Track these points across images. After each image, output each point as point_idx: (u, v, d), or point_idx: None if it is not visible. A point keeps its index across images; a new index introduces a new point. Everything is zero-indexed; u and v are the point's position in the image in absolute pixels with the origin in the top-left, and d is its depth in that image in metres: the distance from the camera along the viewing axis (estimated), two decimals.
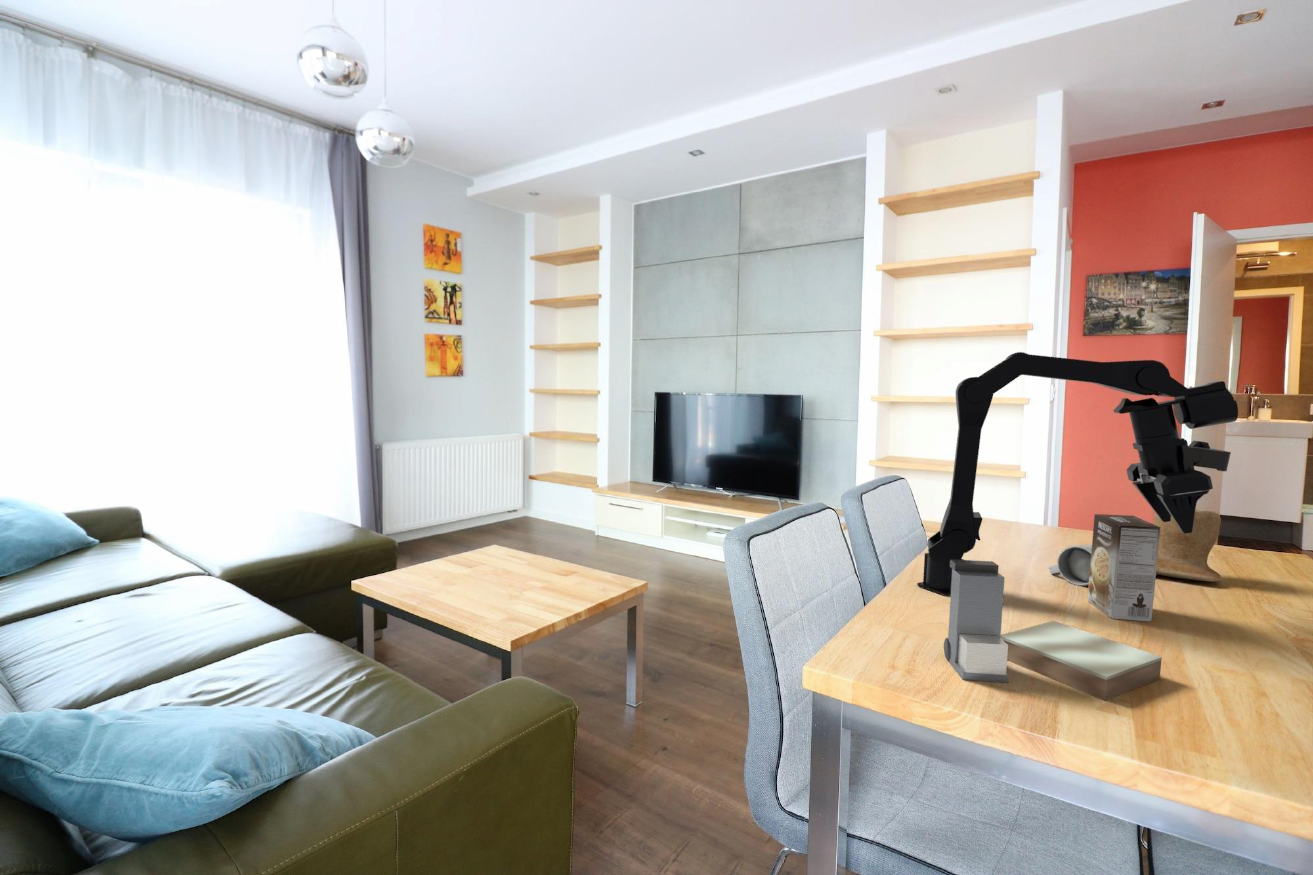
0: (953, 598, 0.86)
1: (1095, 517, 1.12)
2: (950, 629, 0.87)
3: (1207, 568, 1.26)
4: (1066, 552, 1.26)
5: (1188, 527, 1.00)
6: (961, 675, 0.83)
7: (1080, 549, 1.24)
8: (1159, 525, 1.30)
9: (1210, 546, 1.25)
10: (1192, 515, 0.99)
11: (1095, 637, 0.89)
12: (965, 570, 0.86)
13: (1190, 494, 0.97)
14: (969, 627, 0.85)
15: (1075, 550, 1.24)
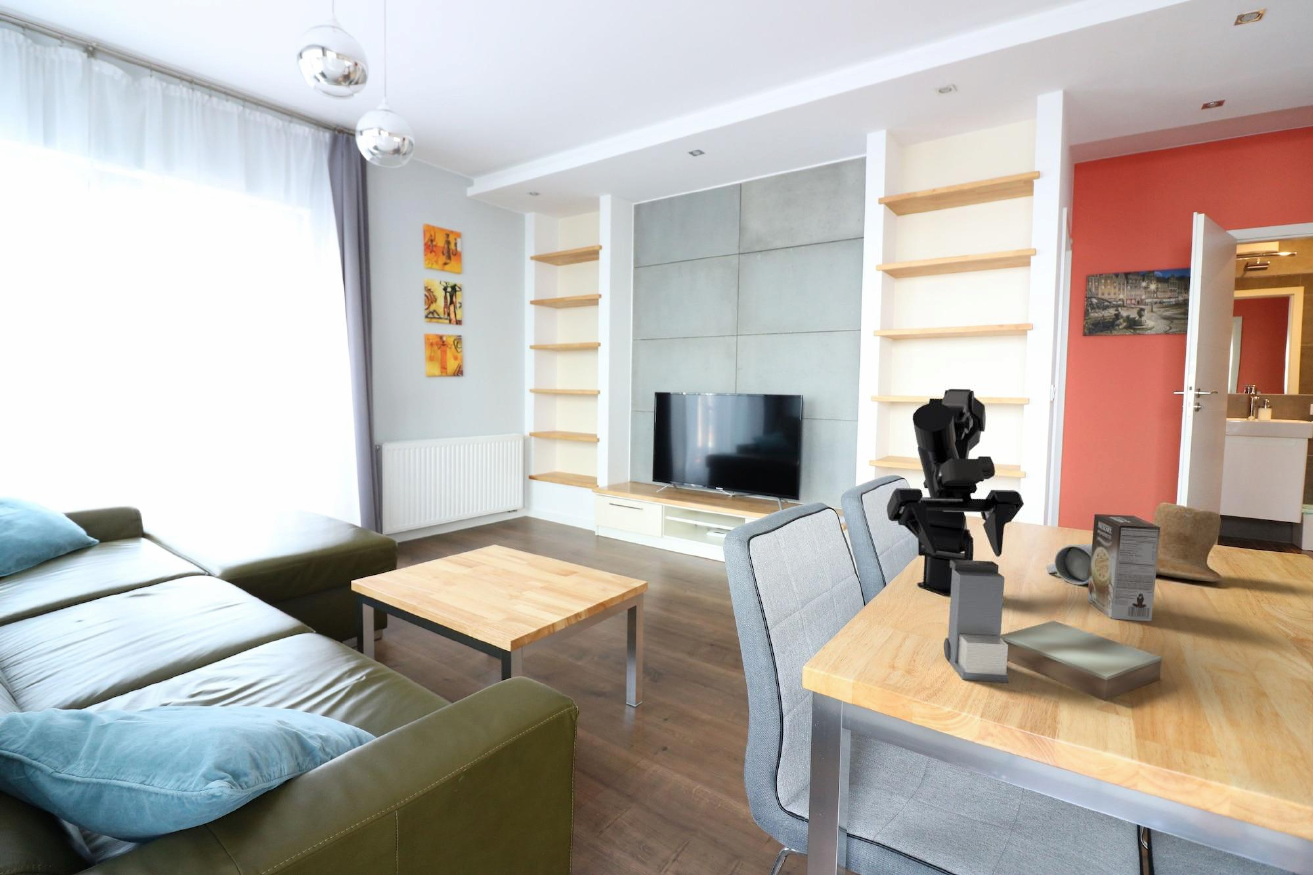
0: (953, 598, 0.86)
1: (1095, 517, 1.12)
2: (950, 629, 0.87)
3: (1207, 568, 1.26)
4: (1063, 551, 1.26)
5: (929, 546, 0.94)
6: (961, 675, 0.83)
7: (1077, 548, 1.24)
8: (1159, 525, 1.30)
9: (1210, 546, 1.25)
10: (924, 533, 0.94)
11: (1095, 637, 0.89)
12: (965, 570, 0.86)
13: (902, 512, 0.97)
14: (969, 627, 0.85)
15: (1072, 549, 1.25)
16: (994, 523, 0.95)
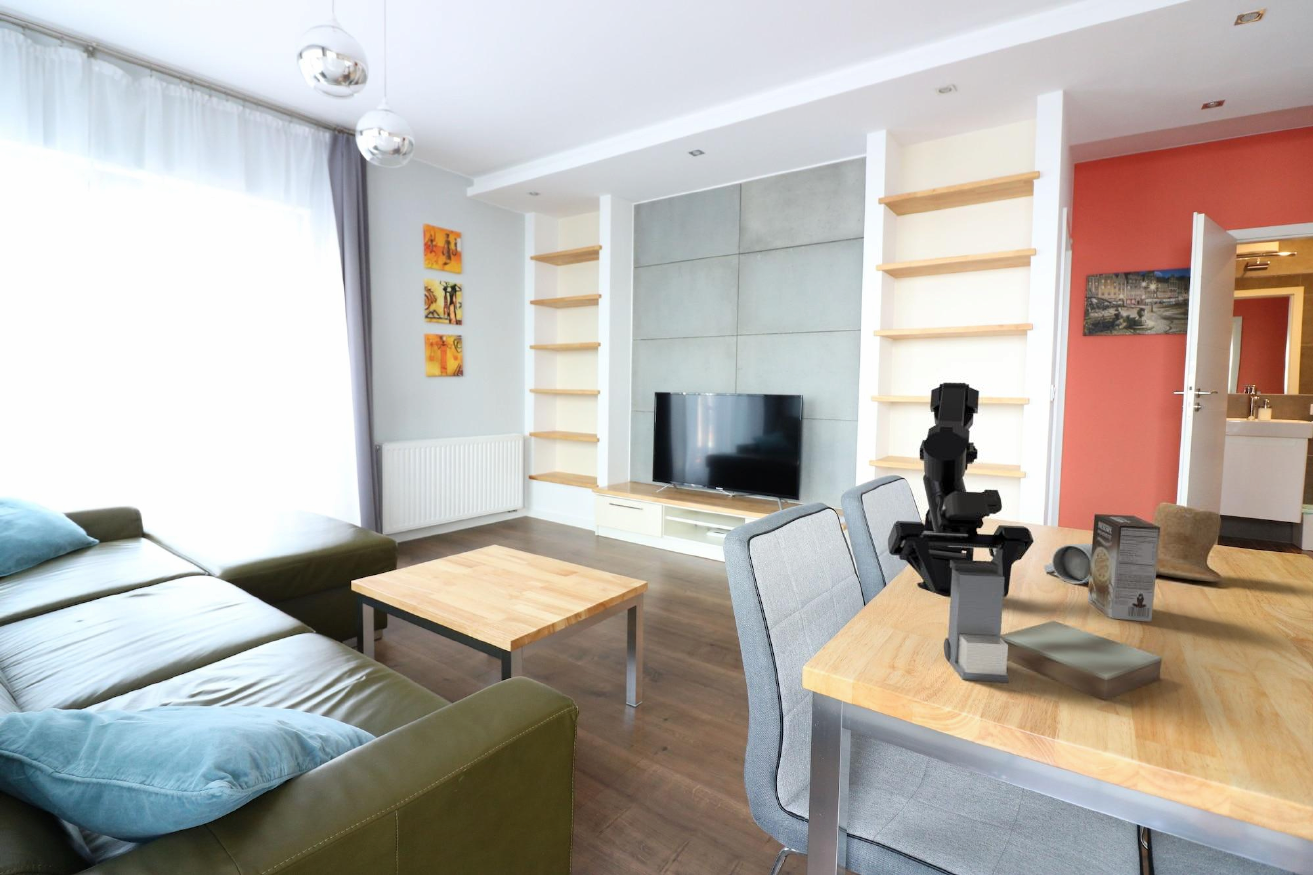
0: (953, 598, 0.86)
1: (1095, 517, 1.12)
2: (950, 629, 0.87)
3: (1207, 568, 1.26)
4: (1061, 551, 1.27)
5: (930, 584, 0.89)
6: (961, 675, 0.83)
7: (1075, 548, 1.25)
8: (1159, 525, 1.30)
9: (1210, 546, 1.25)
10: (925, 569, 0.89)
11: (1095, 637, 0.89)
12: (965, 570, 0.86)
13: (903, 546, 0.92)
14: (969, 627, 0.85)
15: (1070, 549, 1.25)
16: (1001, 561, 0.89)
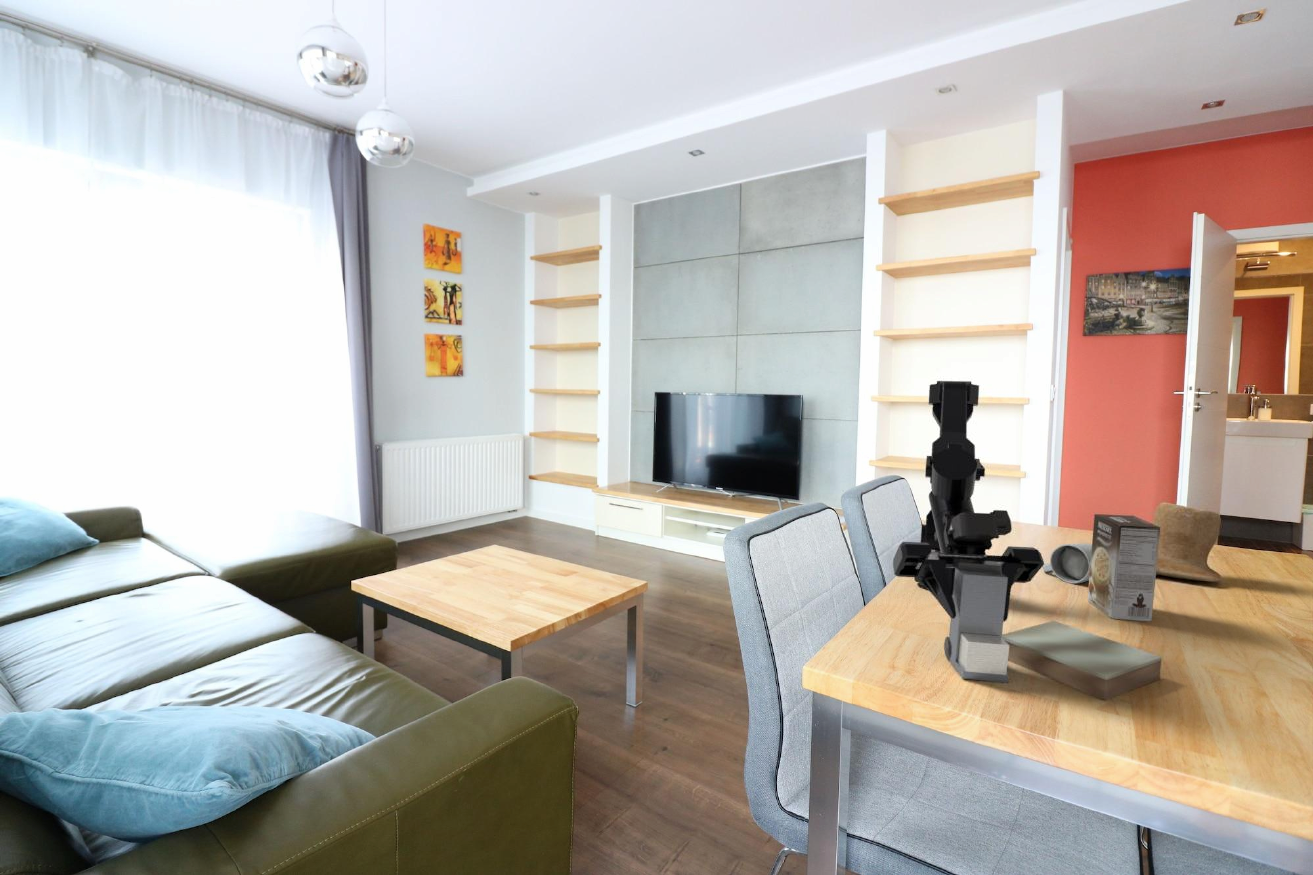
0: (955, 597, 0.86)
1: (1095, 517, 1.12)
2: (951, 627, 0.87)
3: (1207, 568, 1.26)
4: (1059, 550, 1.27)
5: (948, 609, 0.85)
6: (961, 674, 0.83)
7: (1072, 547, 1.25)
8: (1159, 525, 1.30)
9: (1210, 546, 1.25)
10: (943, 593, 0.86)
11: (1095, 637, 0.89)
12: (968, 569, 0.86)
13: (919, 569, 0.89)
14: (970, 626, 0.85)
15: (1067, 548, 1.26)
16: None
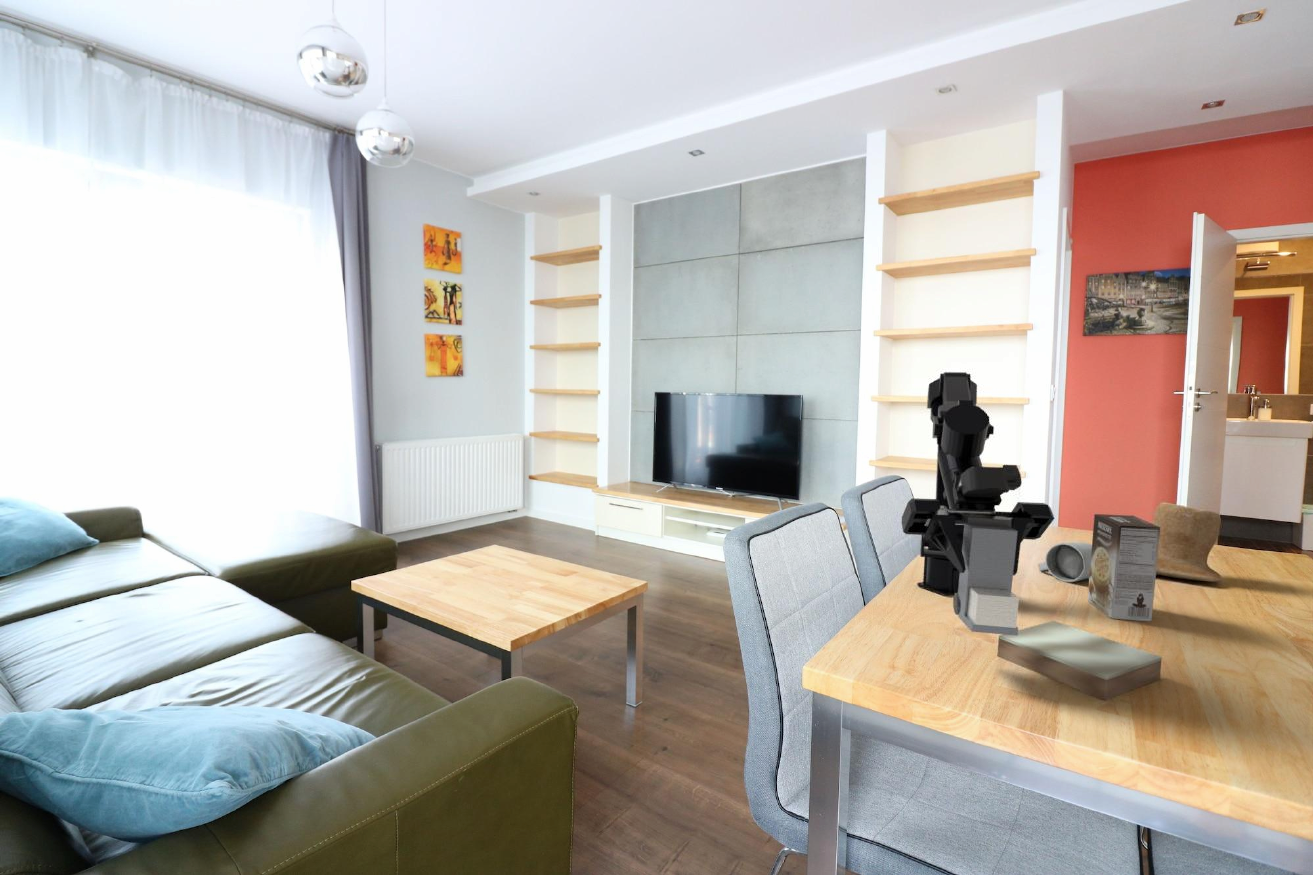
0: (964, 552, 0.86)
1: (1095, 517, 1.12)
2: (960, 583, 0.87)
3: (1207, 568, 1.26)
4: (1054, 549, 1.28)
5: (957, 563, 0.85)
6: (970, 627, 0.82)
7: (1068, 546, 1.26)
8: (1159, 525, 1.30)
9: (1210, 546, 1.25)
10: (952, 548, 0.86)
11: (1095, 637, 0.89)
12: (978, 524, 0.85)
13: (928, 525, 0.89)
14: (980, 581, 0.84)
15: (1063, 547, 1.26)
16: None
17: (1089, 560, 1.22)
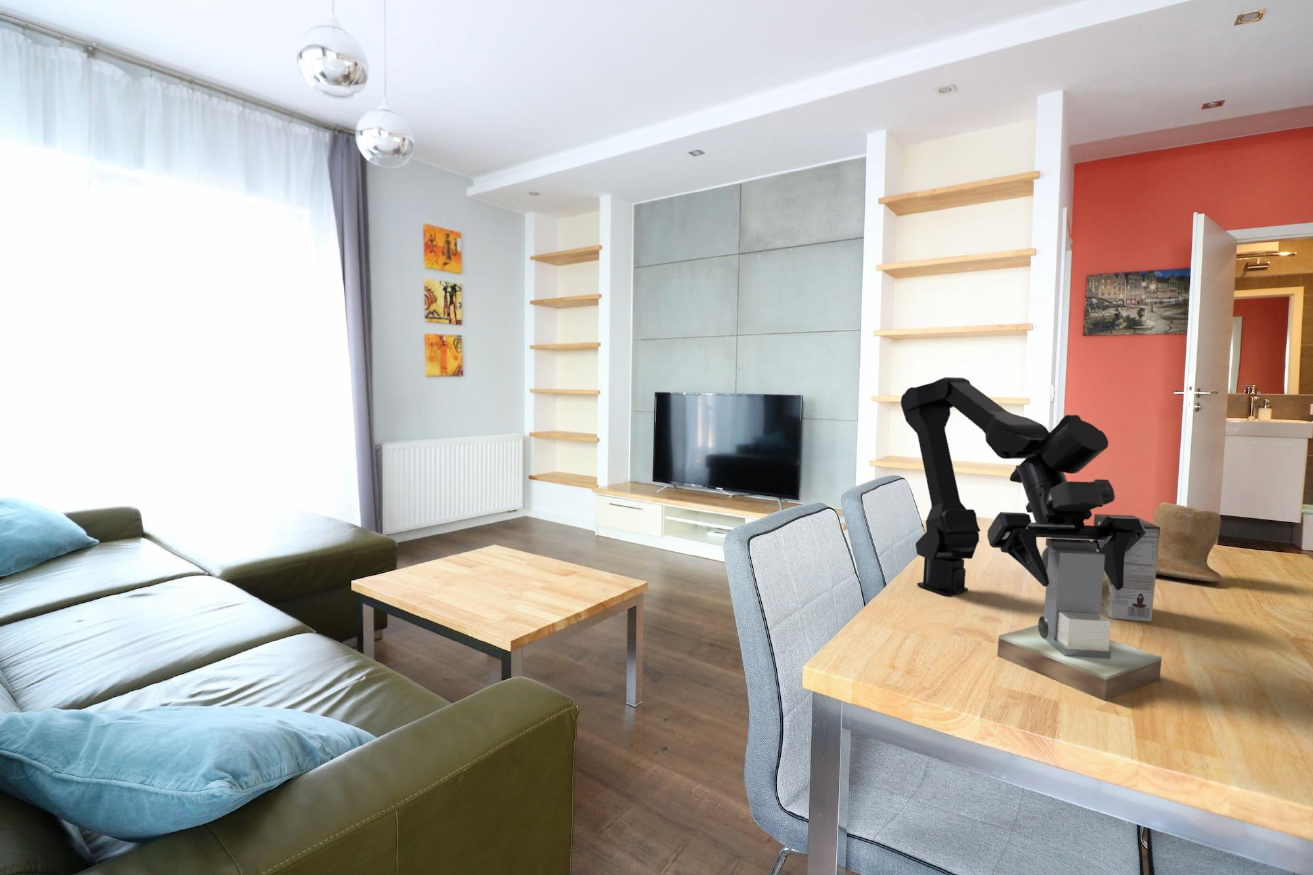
0: (1051, 576, 0.87)
1: (1095, 517, 1.12)
2: (1047, 607, 0.88)
3: (1207, 568, 1.26)
4: None
5: (1040, 577, 0.86)
6: (1062, 651, 0.83)
7: None
8: (1159, 525, 1.30)
9: (1210, 546, 1.25)
10: (1034, 562, 0.86)
11: None
12: (1063, 548, 0.87)
13: (1007, 538, 0.89)
14: (1068, 604, 0.85)
15: None
16: (1112, 553, 0.86)
17: None
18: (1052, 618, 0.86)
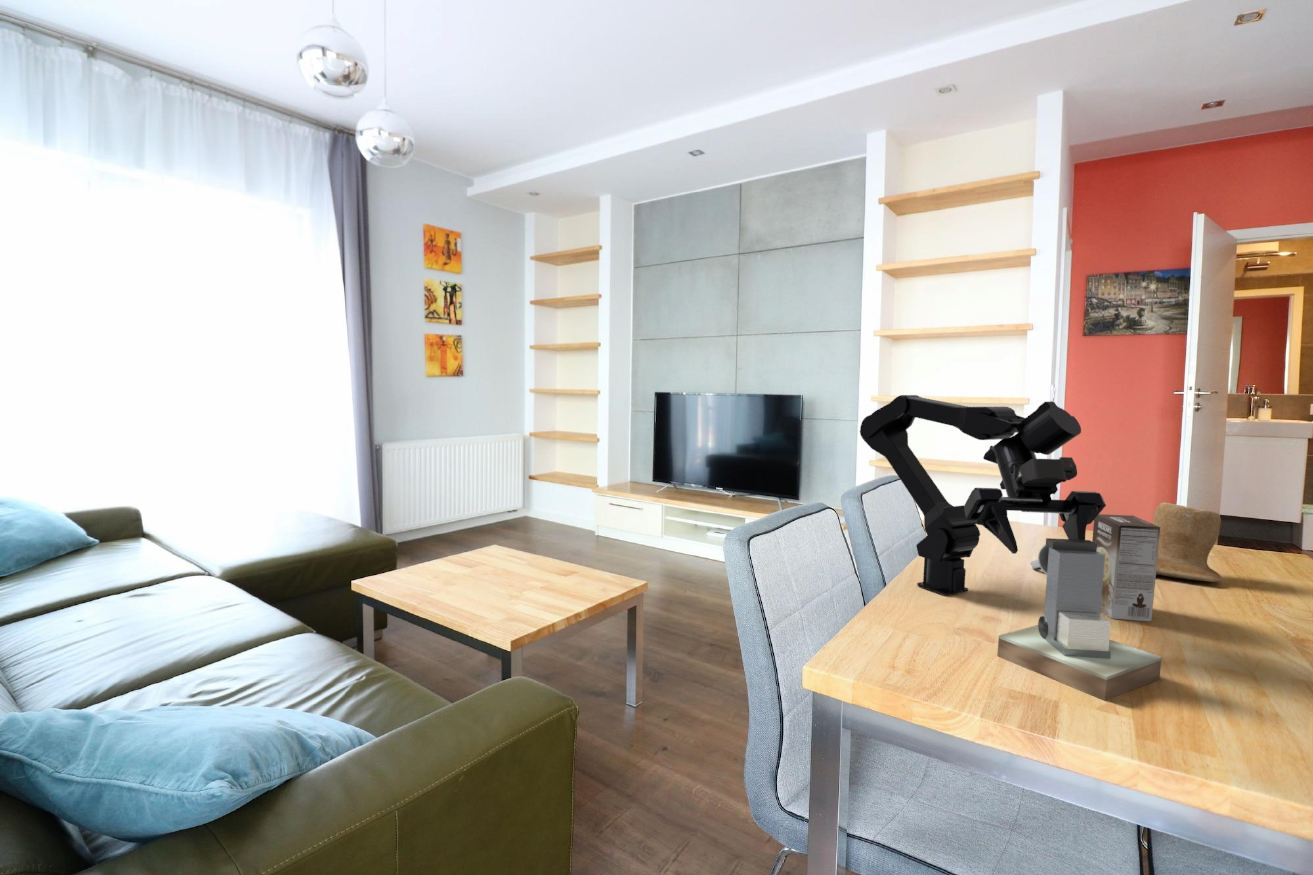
0: (1051, 576, 0.87)
1: None
2: (1047, 607, 0.88)
3: (1207, 568, 1.26)
4: (1047, 547, 1.29)
5: (1010, 545, 0.95)
6: (1062, 651, 0.83)
7: None
8: (1159, 525, 1.30)
9: (1210, 546, 1.25)
10: (1004, 532, 0.96)
11: None
12: (1063, 548, 0.87)
13: (981, 511, 0.99)
14: (1068, 604, 0.85)
15: None
16: (1075, 523, 0.95)
17: None
18: (1052, 618, 0.86)
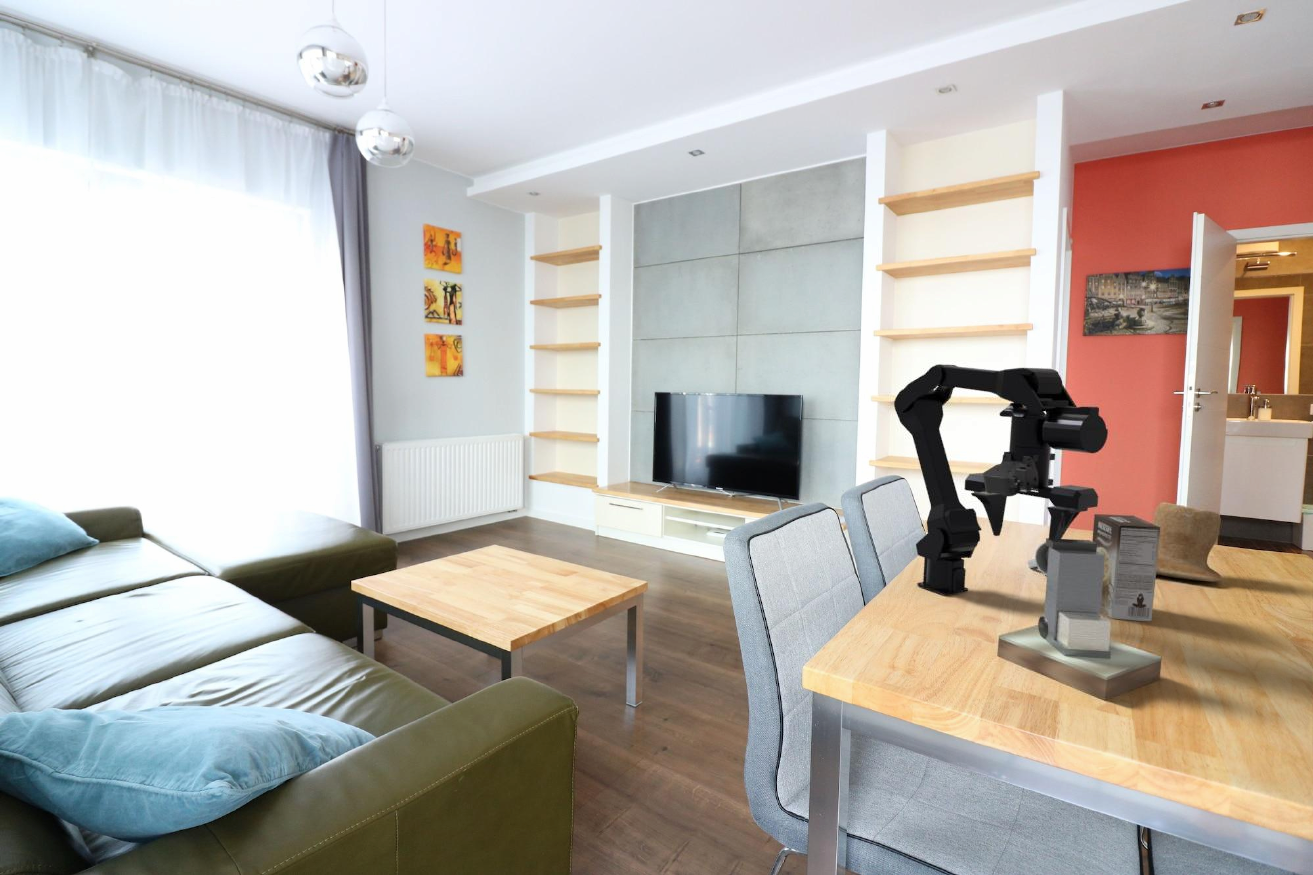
0: (1051, 576, 0.87)
1: (1095, 517, 1.12)
2: (1047, 607, 0.88)
3: (1207, 568, 1.26)
4: (1043, 547, 1.30)
5: None
6: (1062, 651, 0.83)
7: None
8: (1159, 525, 1.30)
9: (1210, 546, 1.25)
10: None
11: None
12: (1063, 548, 0.87)
13: None
14: (1068, 604, 0.85)
15: None
16: None
17: None
18: (1052, 618, 0.86)
